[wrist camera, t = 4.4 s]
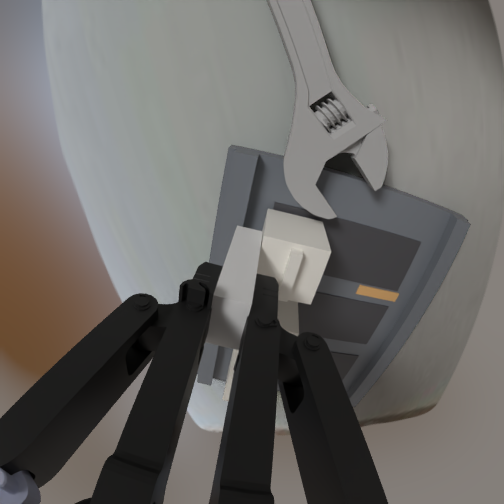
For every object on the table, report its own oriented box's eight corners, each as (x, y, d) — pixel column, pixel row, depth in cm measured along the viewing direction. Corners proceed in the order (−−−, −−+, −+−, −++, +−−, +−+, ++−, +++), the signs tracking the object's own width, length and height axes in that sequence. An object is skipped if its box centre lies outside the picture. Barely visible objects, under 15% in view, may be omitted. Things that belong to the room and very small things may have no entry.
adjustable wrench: (220, -94, 9) (215, -105, 7) (306, -102, 8) (308, -114, 6) (290, 212, 19) (291, 221, 17) (386, 199, 18) (395, 207, 16)
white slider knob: (249, 285, 21) (241, 328, 17) (297, 295, 22) (299, 339, 17) (240, 320, 23) (232, 364, 19) (284, 329, 23) (283, 373, 19)
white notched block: (267, 208, 19) (263, 241, 15) (322, 221, 19) (332, 257, 15) (255, 256, 20) (248, 298, 16) (306, 268, 20) (311, 311, 16)
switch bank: (231, 144, 18) (225, 150, 16) (461, 214, 19) (474, 226, 17) (197, 364, 29) (192, 381, 27) (356, 391, 29) (359, 406, 27)
